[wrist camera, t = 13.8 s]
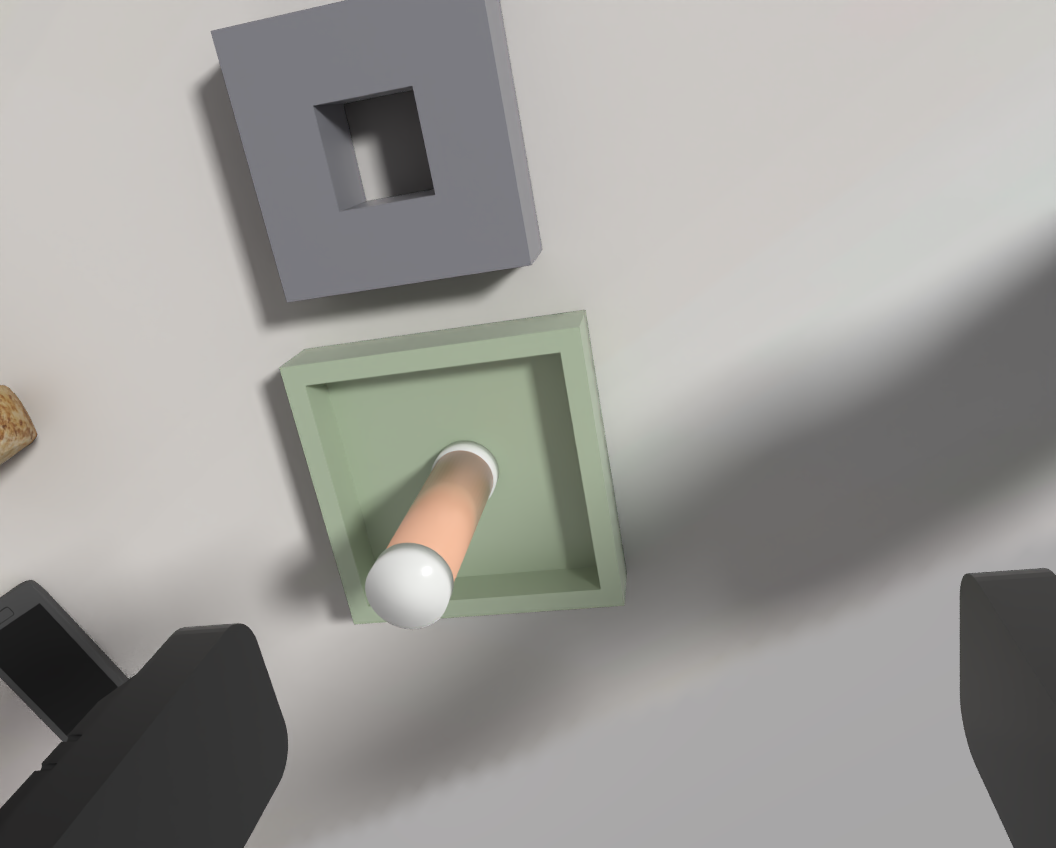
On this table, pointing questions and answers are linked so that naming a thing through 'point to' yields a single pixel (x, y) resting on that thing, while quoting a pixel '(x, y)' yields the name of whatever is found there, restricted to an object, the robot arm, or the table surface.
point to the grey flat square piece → (328, 154)
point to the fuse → (433, 538)
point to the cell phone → (51, 659)
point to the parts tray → (475, 415)
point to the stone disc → (13, 425)
